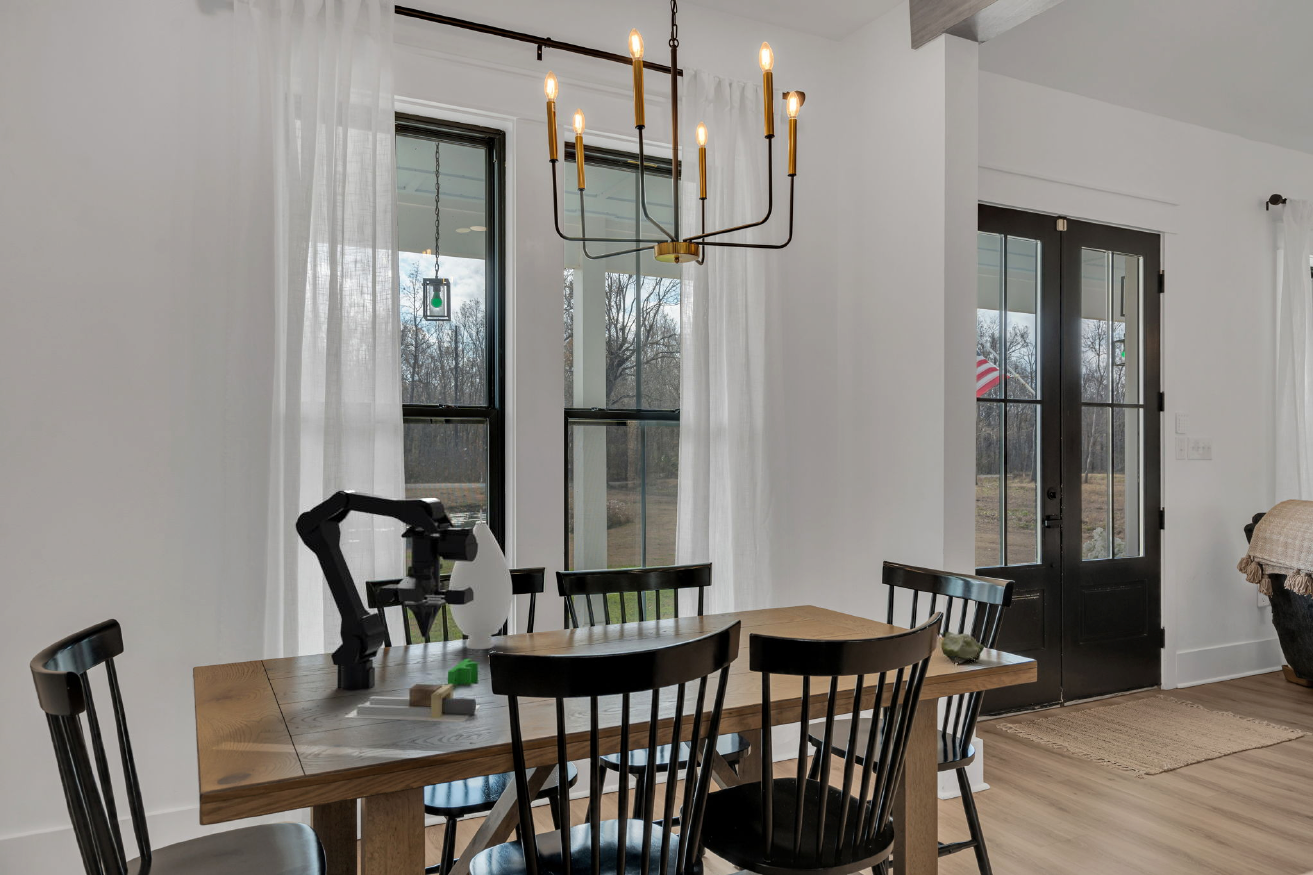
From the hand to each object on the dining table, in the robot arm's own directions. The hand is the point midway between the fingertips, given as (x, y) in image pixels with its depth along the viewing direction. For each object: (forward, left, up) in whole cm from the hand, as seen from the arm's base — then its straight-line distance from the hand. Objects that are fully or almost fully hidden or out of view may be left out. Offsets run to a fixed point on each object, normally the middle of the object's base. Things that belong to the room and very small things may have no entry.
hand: (425, 636), depth 176 cm
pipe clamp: (+6, +9, -12) cm, 16 cm away
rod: (+11, -13, -11) cm, 21 cm away
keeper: (+5, -13, -11) cm, 18 cm away
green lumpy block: (+116, +45, -12) cm, 125 cm away
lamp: (-3, +45, -12) cm, 46 cm away
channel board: (+3, -13, -12) cm, 18 cm away
